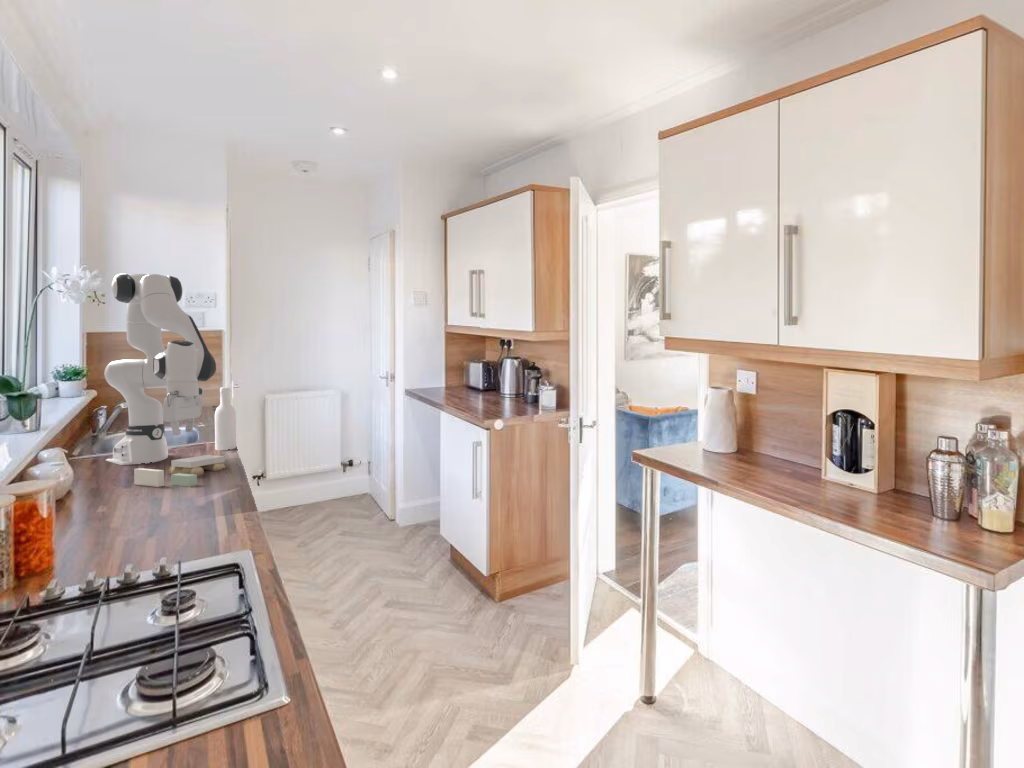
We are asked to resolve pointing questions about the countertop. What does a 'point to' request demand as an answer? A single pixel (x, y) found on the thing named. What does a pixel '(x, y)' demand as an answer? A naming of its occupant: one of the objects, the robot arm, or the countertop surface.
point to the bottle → (225, 422)
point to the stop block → (149, 477)
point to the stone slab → (197, 461)
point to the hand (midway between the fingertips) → (183, 433)
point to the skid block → (183, 479)
